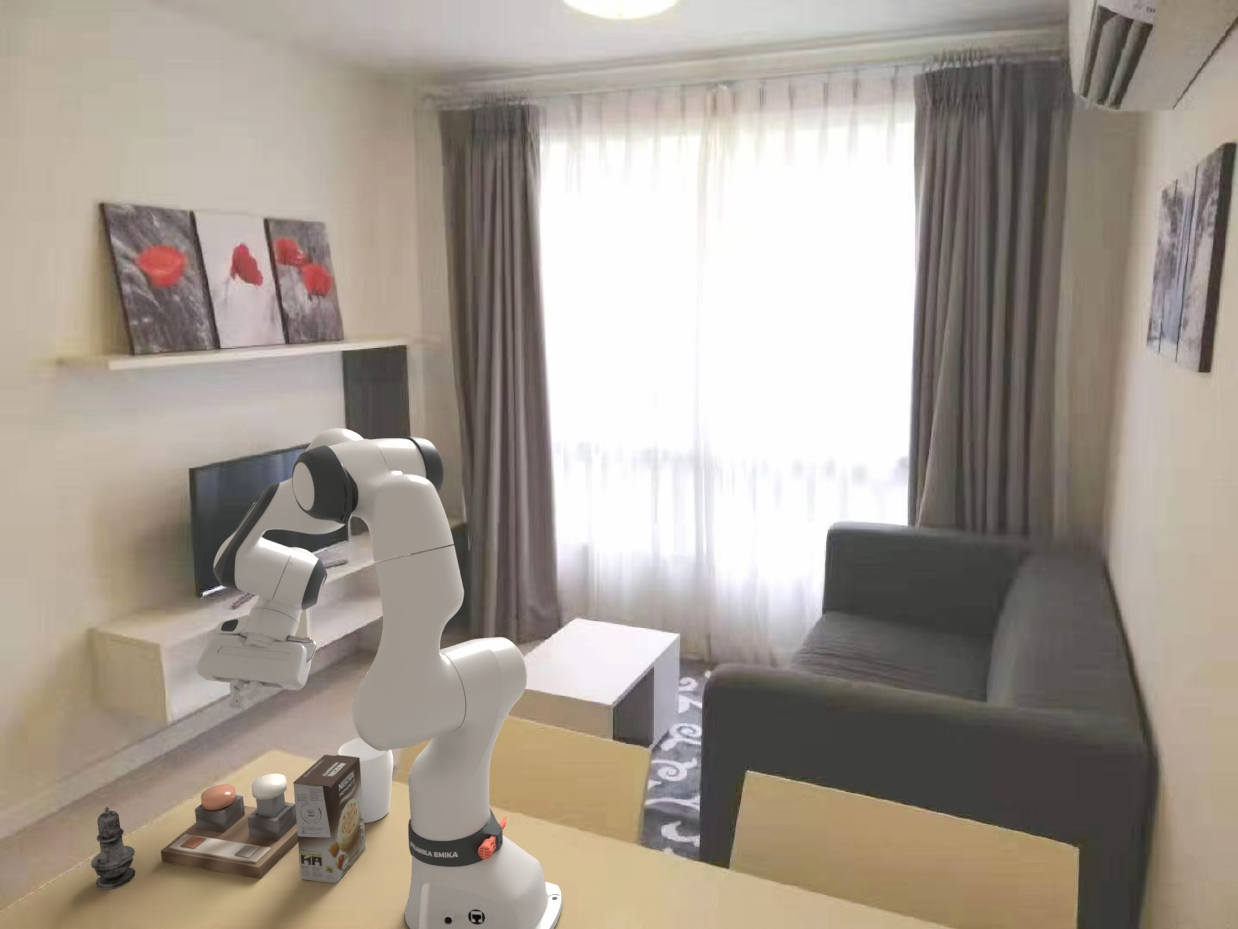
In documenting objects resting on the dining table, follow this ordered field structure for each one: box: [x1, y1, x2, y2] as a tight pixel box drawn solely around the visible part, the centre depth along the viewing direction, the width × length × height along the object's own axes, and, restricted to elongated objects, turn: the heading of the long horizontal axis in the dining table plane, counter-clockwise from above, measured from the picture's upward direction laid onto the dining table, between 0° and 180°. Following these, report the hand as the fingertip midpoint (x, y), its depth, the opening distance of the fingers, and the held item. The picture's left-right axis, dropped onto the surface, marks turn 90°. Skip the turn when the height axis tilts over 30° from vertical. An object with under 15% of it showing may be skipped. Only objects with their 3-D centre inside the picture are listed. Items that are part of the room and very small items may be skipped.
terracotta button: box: [200, 783, 237, 810], centre depth 145 cm, size 5×5×5 cm
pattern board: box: [160, 794, 298, 880], centre depth 143 cm, size 18×14×6 cm
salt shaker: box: [90, 806, 136, 891], centre depth 134 cm, size 6×6×12 cm
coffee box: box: [292, 754, 366, 884], centre depth 136 cm, size 9×6×16 cm
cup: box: [337, 736, 394, 824], centre depth 150 cm, size 9×9×12 cm
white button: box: [251, 773, 288, 818], centre depth 142 cm, size 5×5×5 cm
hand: (237, 708), depth 150 cm, fingers closed
